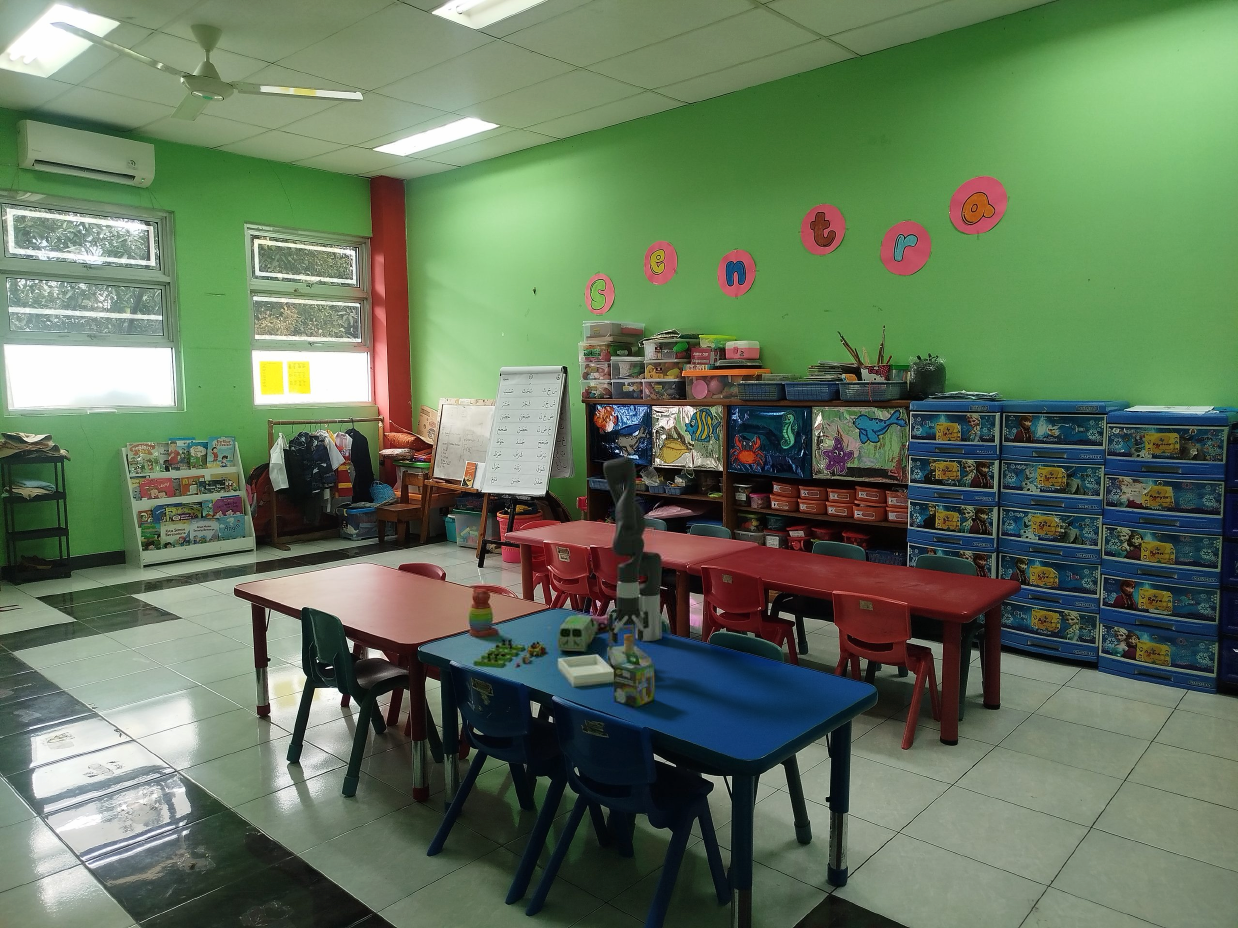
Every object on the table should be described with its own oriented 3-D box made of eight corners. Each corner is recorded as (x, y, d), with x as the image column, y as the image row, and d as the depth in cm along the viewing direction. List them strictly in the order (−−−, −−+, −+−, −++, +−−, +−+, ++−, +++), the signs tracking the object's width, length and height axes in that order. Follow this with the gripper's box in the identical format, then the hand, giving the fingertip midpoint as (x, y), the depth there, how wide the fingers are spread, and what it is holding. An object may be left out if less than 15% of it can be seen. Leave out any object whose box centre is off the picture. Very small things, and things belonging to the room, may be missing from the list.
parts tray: (597, 664, 286) (597, 654, 286) (615, 681, 268) (615, 671, 268) (558, 668, 281) (558, 658, 281) (573, 686, 263) (573, 675, 263)
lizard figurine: (564, 631, 330) (563, 612, 330) (602, 622, 343) (602, 604, 343) (587, 638, 319) (587, 619, 319) (626, 629, 332) (625, 611, 332)
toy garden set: (498, 647, 307) (498, 635, 307) (547, 651, 303) (547, 639, 302) (473, 666, 285) (473, 653, 285) (526, 671, 280) (526, 657, 280)
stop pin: (631, 668, 281) (631, 633, 281) (634, 671, 279) (634, 636, 278) (622, 669, 280) (622, 634, 280) (625, 672, 278) (625, 637, 277)
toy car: (597, 636, 321) (597, 610, 320) (585, 655, 297) (585, 628, 296) (570, 635, 323) (570, 609, 322) (556, 654, 298) (556, 626, 297)
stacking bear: (500, 632, 326) (500, 587, 324) (483, 638, 317) (482, 592, 316) (480, 628, 331) (479, 584, 330) (462, 634, 323) (461, 589, 321)
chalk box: (655, 699, 252) (655, 651, 251) (636, 708, 245) (636, 659, 244) (631, 692, 258) (631, 646, 257) (612, 701, 251) (612, 653, 250)
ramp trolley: (634, 661, 289) (634, 625, 288) (651, 676, 274) (651, 637, 273) (607, 664, 285) (607, 627, 284) (622, 679, 270) (622, 640, 269)
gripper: (644, 590, 283) (643, 637, 285) (604, 593, 279) (604, 640, 280) (651, 595, 276) (651, 643, 277) (611, 598, 272) (611, 646, 273)
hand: (627, 641), depth 279 cm, fingers open, 8 cm apart
